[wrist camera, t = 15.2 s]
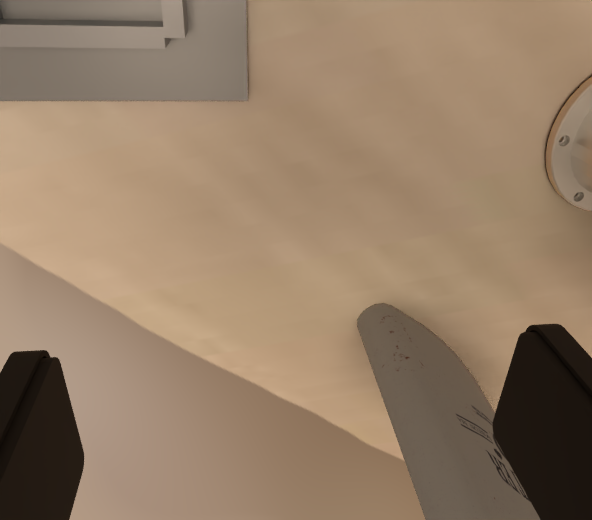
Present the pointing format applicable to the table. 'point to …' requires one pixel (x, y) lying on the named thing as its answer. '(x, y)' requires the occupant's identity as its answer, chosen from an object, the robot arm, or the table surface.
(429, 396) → the flask
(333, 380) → the table surface
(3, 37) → the well
